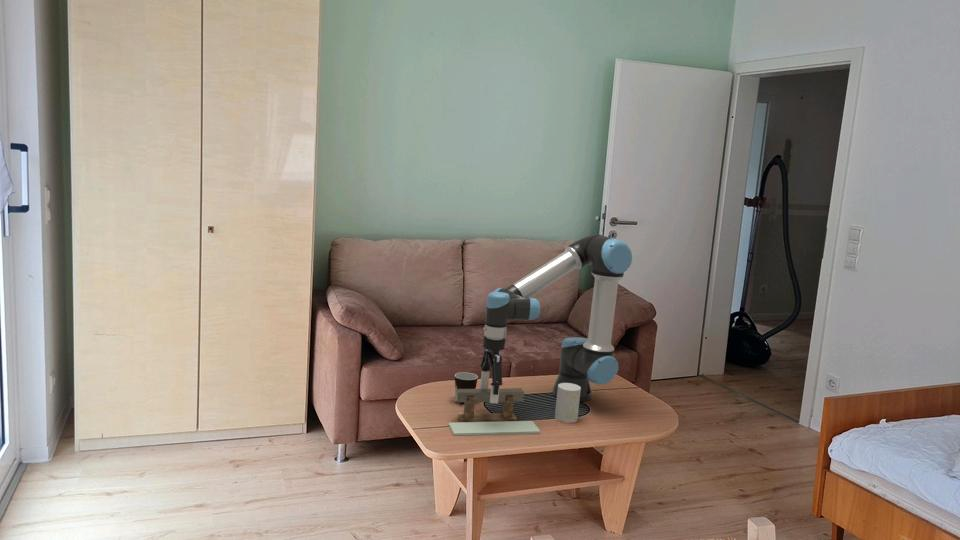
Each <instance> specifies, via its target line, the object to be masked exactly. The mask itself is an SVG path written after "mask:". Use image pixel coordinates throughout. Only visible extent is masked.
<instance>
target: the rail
mask: <svg viewBox="0 0 960 540" xmlns="http://www.w3.org/2000/svg"><path fill="white" fill-rule="evenodd" d="M454 389H455V388H454ZM490 395H491V388H488V389H480V388H476V389H455V390H454V400H455V402H468V397H475V398H476V399H475V403H490ZM513 396H514V397H515V398H514V402H524V399H525V391H524V390H523V389H522V387H521V388H519V387H518V388H515V387H514V388H499V398H498V403H501V402H502V403H503V402H507V397H513Z"/></svg>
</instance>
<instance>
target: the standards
mask: <svg viewBox="0 0 960 540" xmlns="http://www.w3.org/2000/svg"><path fill="white" fill-rule="evenodd" d="M514 398H515V397H514V396H513V397H507V402H502V408H501V412H496V413H491V412H490V413H486V412H485V413H475V409H476V408H475V407H476V402H475V399H476V398H475V397H468V402H464V405H463V413H459V414H458V419H459V420H460V422H504V421H518V418H517V416H516V415H515V414H514V413H513V411H514V404H515V401H514Z"/></svg>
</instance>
